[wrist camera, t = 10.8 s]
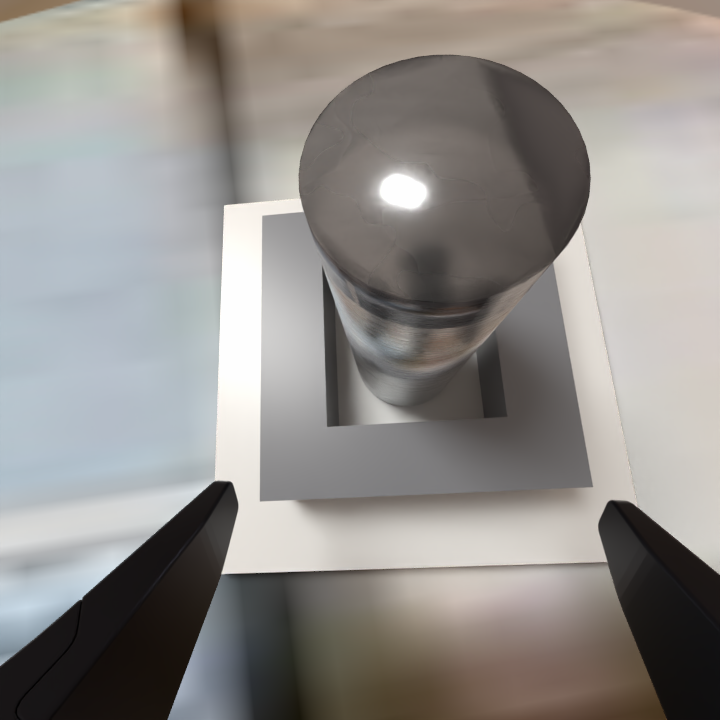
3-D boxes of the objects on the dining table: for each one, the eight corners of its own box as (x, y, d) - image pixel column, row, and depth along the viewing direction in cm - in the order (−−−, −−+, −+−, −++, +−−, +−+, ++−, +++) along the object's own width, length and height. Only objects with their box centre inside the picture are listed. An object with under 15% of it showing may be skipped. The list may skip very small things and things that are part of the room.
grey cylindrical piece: (472, 375, 18) (655, 207, 6) (388, 424, 18) (390, 359, 5) (420, 296, 19) (481, 14, 7) (339, 341, 19) (252, 133, 7)
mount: (633, 554, 17) (720, 591, 12) (221, 567, 18) (165, 605, 13) (562, 185, 21) (607, 114, 16) (231, 216, 22) (192, 157, 18)
